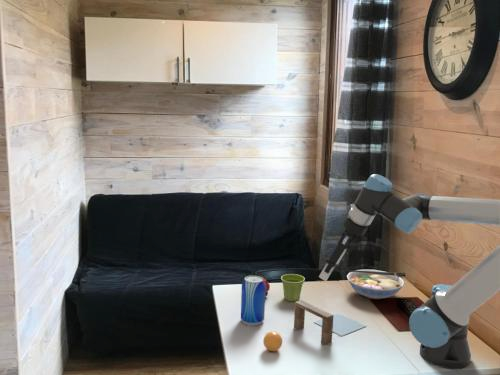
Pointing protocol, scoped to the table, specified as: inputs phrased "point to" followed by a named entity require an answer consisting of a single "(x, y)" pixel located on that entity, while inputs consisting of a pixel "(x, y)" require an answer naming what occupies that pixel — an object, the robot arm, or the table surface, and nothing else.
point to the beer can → (253, 300)
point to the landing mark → (343, 325)
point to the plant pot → (292, 286)
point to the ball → (272, 341)
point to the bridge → (326, 317)
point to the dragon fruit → (266, 287)
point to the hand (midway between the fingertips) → (328, 270)
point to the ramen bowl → (375, 283)
